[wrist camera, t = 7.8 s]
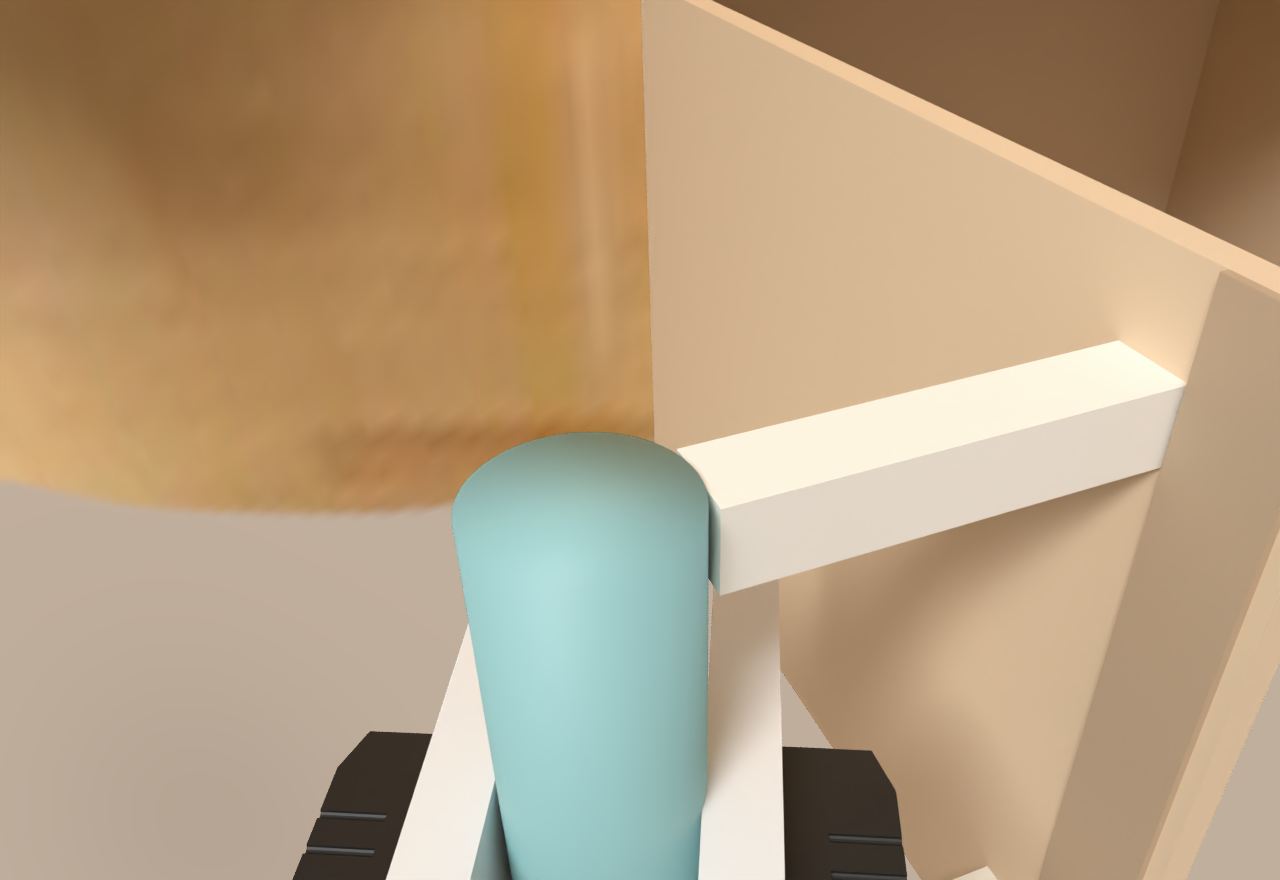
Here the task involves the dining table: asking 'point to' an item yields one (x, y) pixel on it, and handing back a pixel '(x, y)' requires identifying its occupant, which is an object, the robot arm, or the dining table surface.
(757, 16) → the carton
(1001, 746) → the flap
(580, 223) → the dining table surface
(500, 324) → the dining table surface
